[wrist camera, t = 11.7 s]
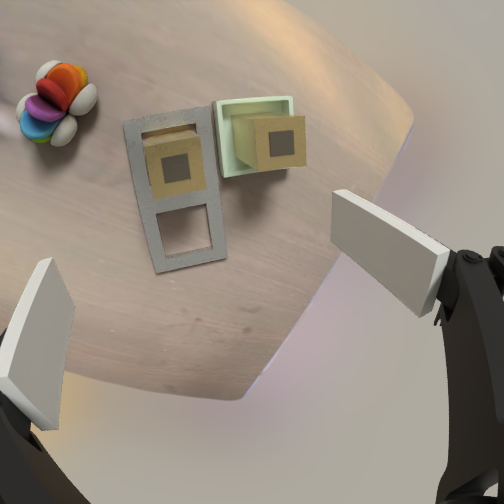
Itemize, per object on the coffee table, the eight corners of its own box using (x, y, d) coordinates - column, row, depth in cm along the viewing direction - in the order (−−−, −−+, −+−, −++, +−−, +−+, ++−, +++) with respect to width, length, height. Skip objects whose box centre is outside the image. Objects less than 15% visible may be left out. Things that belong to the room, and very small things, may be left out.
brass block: (234, 156, 35) (258, 172, 27) (231, 116, 32) (254, 119, 24) (273, 151, 36) (307, 165, 28) (271, 112, 33) (305, 116, 26)
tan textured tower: (154, 177, 33) (153, 200, 26) (147, 137, 31) (144, 147, 23) (195, 169, 34) (206, 189, 27) (190, 129, 32) (200, 136, 24)
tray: (220, 173, 36) (224, 177, 34) (212, 101, 31) (216, 101, 29) (287, 163, 38) (295, 167, 36) (284, 96, 33) (292, 95, 31)
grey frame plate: (155, 270, 39) (156, 273, 38) (123, 121, 29) (122, 121, 28) (226, 254, 41) (227, 257, 40) (208, 106, 31) (209, 106, 31)
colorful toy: (110, 86, 27) (98, 80, 21) (64, 155, 28) (43, 167, 22) (60, 53, 22) (39, 42, 16) (17, 122, 24) (-11, 128, 18)
